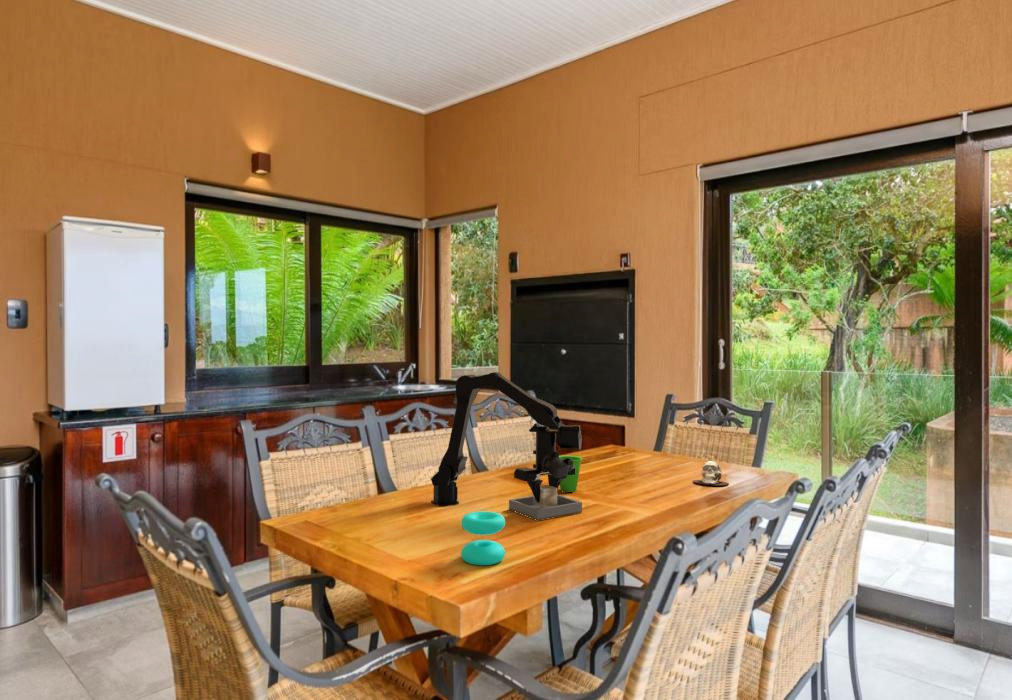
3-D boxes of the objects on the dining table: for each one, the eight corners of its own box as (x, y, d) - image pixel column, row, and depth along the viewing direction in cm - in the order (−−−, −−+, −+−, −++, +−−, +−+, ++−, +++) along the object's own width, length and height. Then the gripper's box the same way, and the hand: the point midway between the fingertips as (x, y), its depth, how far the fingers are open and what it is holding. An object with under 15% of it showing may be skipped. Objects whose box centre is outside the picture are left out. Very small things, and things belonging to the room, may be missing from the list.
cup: (587, 491, 213) (587, 457, 213) (570, 495, 206) (571, 461, 206) (565, 486, 219) (566, 454, 219) (549, 491, 212) (549, 457, 212)
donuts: (511, 512, 148) (495, 523, 139) (511, 555, 149) (495, 569, 139) (472, 508, 152) (453, 518, 143) (471, 550, 152) (453, 563, 143)
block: (543, 507, 184) (543, 490, 184) (533, 503, 188) (533, 486, 188) (557, 505, 186) (557, 487, 186) (546, 501, 191) (546, 484, 191)
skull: (728, 486, 217) (707, 461, 220) (705, 503, 221) (685, 479, 224) (734, 478, 228) (714, 455, 231) (712, 495, 232) (693, 472, 235)
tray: (537, 521, 177) (537, 510, 177) (508, 509, 188) (509, 499, 188) (581, 512, 186) (582, 502, 186) (551, 502, 197) (551, 492, 197)
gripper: (536, 454, 175) (535, 511, 175) (588, 448, 185) (587, 502, 186) (513, 448, 184) (512, 503, 184) (563, 443, 195) (563, 494, 195)
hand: (545, 501), depth 187 cm, fingers closed on block, 5 cm apart
